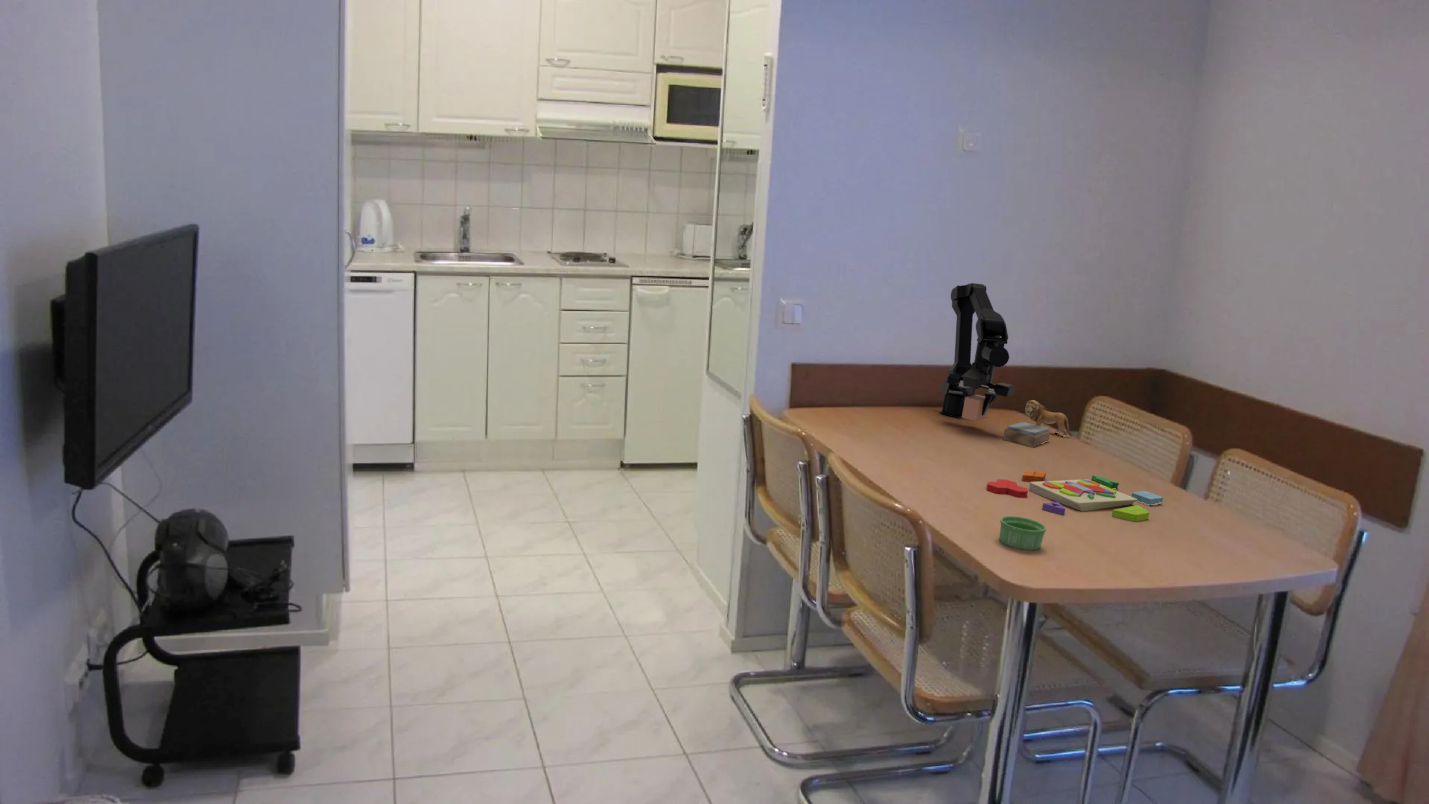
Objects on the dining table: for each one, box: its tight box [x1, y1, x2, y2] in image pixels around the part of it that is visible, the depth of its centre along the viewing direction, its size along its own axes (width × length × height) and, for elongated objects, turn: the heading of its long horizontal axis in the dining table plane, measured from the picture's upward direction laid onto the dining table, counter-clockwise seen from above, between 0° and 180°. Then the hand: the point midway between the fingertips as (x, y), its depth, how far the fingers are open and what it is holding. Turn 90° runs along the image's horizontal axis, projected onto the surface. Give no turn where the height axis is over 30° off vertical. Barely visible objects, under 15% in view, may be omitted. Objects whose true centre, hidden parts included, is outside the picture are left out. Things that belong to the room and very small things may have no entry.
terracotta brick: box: [961, 394, 990, 422], centre depth 331 cm, size 4×8×6 cm, turn 144°
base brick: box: [1002, 421, 1051, 448], centre depth 326 cm, size 9×12×4 cm
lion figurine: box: [1024, 399, 1074, 437], centre depth 340 cm, size 15×5×9 cm, turn 72°
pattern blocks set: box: [986, 470, 1164, 523], centre depth 272 cm, size 38×34×3 cm
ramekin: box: [999, 515, 1047, 551], centre depth 231 cm, size 9×9×4 cm
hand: (975, 413), depth 331 cm, fingers closed on terracotta brick, 4 cm apart
